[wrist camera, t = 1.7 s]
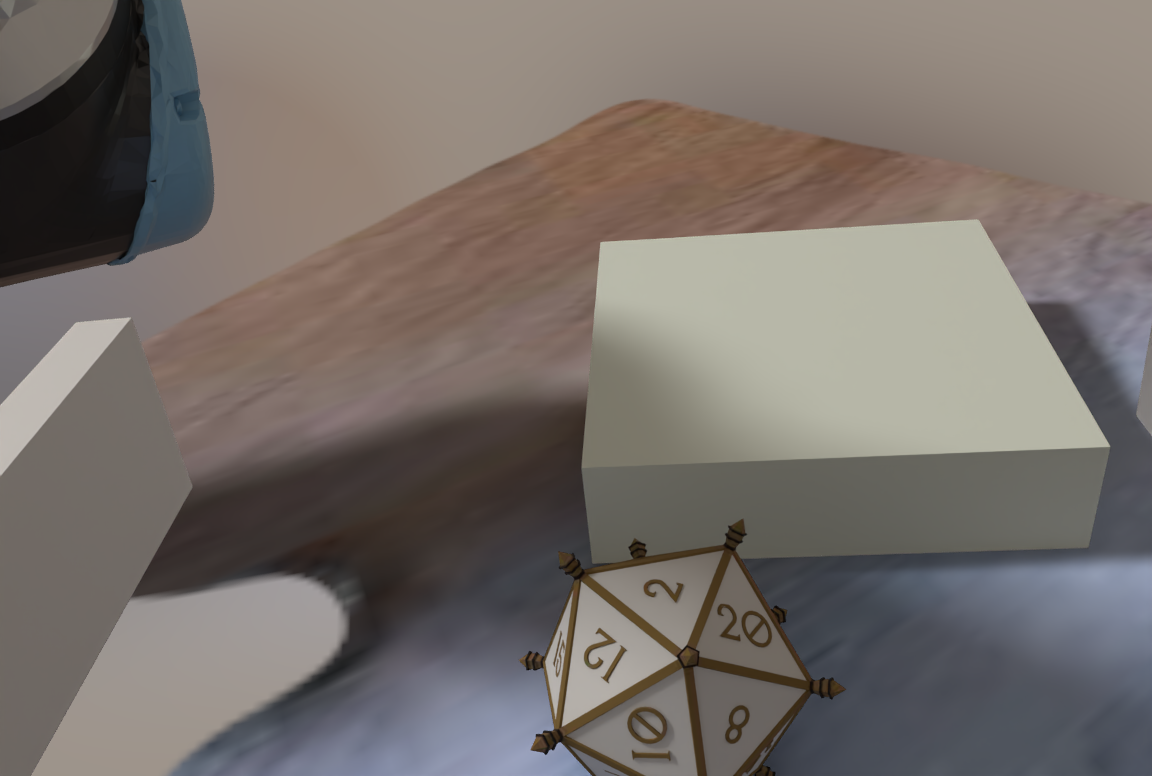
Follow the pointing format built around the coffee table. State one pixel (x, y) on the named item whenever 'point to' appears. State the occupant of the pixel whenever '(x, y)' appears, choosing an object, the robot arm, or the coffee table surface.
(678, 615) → the game die
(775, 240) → the base block
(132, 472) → the robot arm
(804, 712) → the coffee table surface
